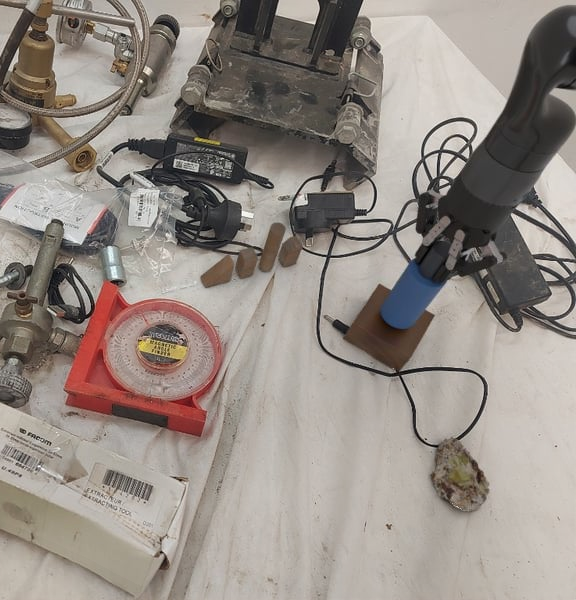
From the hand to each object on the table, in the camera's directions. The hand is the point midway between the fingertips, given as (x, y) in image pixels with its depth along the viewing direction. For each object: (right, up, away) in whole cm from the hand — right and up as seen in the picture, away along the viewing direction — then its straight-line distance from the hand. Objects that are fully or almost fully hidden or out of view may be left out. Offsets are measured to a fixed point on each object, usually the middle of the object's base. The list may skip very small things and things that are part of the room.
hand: (429, 270), depth 81 cm
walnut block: (-1, -10, +15) cm, 18 cm away
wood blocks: (-26, 0, +19) cm, 33 cm away
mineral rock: (+5, -30, +2) cm, 30 cm away
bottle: (-1, -6, +9) cm, 11 cm away
